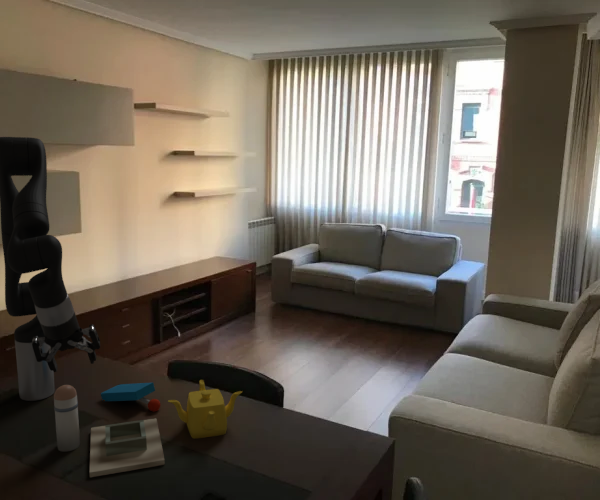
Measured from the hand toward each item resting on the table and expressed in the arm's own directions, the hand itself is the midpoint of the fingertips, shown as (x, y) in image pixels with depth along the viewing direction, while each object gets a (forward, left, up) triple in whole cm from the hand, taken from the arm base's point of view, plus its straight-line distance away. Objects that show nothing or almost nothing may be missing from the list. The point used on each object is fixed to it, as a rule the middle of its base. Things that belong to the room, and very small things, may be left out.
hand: (74, 365), depth 133 cm
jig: (+10, +11, -18) cm, 23 cm away
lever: (-14, +14, -19) cm, 27 cm away
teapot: (+6, +31, -19) cm, 37 cm away
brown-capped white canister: (+5, -2, -18) cm, 19 cm away
